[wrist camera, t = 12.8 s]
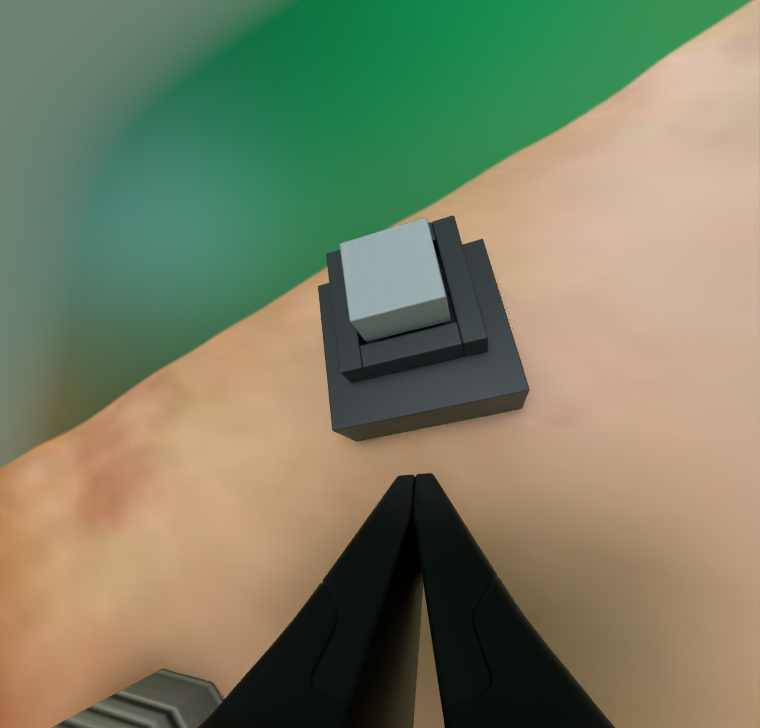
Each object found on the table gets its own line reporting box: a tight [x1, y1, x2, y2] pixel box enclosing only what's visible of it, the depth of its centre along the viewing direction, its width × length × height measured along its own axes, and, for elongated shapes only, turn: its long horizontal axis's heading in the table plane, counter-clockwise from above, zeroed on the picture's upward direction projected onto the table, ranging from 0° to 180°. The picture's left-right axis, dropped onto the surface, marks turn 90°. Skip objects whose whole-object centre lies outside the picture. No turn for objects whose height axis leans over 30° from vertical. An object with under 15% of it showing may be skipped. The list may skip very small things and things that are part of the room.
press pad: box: [340, 218, 451, 342], centre depth 18 cm, size 4×4×3 cm
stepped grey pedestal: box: [318, 216, 529, 441], centre depth 21 cm, size 10×10×6 cm
